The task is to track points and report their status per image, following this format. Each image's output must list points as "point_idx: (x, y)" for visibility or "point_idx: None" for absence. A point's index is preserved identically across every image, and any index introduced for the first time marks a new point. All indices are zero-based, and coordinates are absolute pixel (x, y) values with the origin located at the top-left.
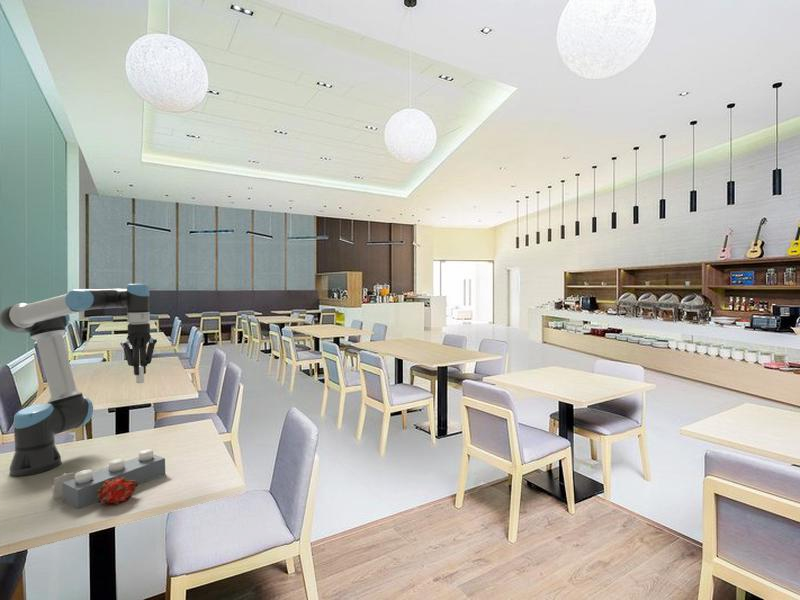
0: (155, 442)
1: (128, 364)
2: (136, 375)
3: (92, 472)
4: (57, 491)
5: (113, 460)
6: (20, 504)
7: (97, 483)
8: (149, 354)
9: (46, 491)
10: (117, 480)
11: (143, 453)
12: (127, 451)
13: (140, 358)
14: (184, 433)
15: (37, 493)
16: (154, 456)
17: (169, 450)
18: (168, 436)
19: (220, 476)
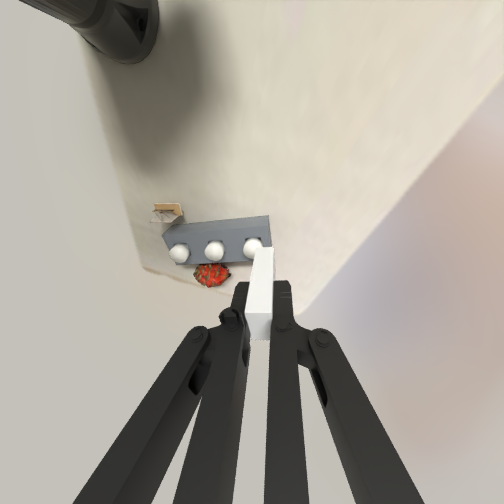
0: (353, 60)
1: (187, 337)
2: (252, 272)
3: (186, 258)
4: (163, 214)
5: (210, 247)
6: (132, 195)
7: (194, 263)
8: (337, 449)
9: (153, 178)
10: (208, 283)
11: (247, 254)
12: (281, 77)
13: (269, 383)
14: (447, 42)
15: (144, 175)
16: (265, 244)
17: (330, 160)
18: (408, 26)
19: (303, 293)
